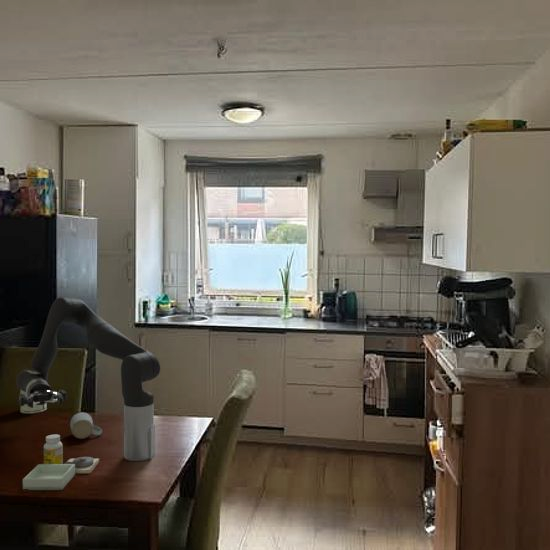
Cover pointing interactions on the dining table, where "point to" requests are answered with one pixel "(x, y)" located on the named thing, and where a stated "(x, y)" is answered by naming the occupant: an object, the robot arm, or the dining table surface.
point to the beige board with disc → (83, 464)
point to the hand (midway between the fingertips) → (46, 403)
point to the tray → (49, 477)
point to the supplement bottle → (53, 450)
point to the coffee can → (35, 407)
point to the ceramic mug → (83, 426)
